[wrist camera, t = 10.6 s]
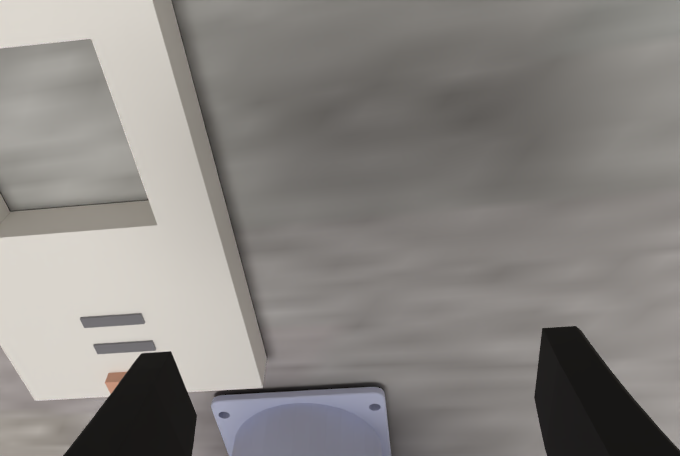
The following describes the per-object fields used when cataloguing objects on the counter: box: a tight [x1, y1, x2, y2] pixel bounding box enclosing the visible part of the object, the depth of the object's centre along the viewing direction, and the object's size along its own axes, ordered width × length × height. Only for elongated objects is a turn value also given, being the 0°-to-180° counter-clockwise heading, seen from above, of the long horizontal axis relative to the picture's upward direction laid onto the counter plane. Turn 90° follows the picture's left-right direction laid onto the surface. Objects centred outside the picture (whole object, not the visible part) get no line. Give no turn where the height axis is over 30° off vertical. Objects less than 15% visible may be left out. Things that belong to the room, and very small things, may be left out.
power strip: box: [0, 0, 267, 401], centre depth 22 cm, size 18×10×2 cm, turn 6°
